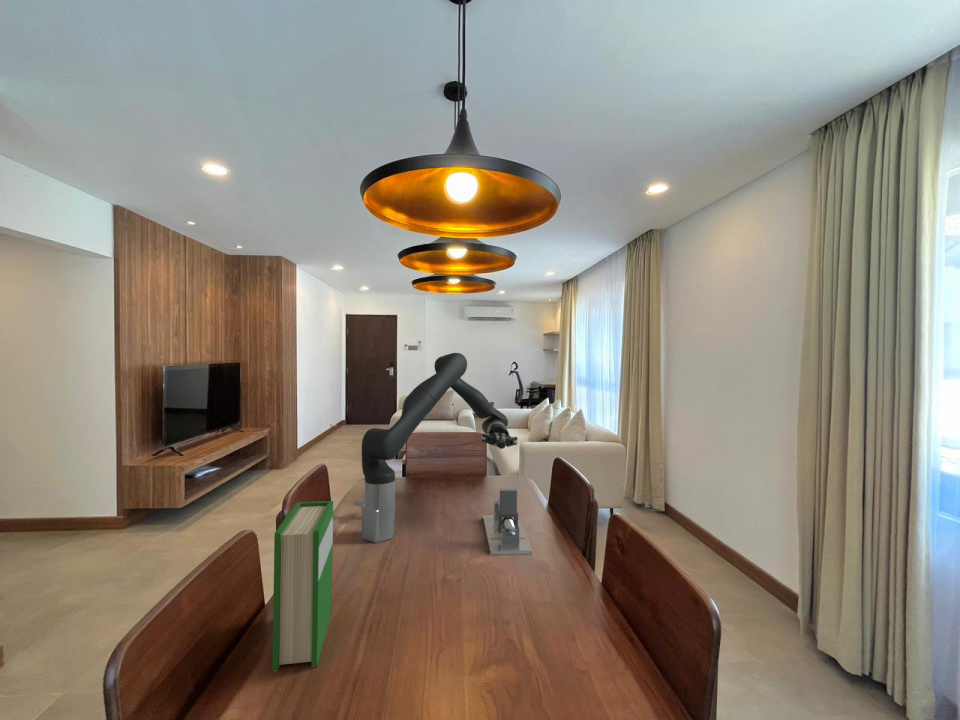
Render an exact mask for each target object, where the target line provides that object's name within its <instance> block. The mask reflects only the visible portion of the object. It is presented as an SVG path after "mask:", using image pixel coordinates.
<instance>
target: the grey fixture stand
mask: <svg viewBox="0 0 960 720" xmlns="http://www.w3.org/2000/svg"><path fill="white" fill-rule="evenodd" d="M498 512H500V498H499V499H497V501H493V515H492V514H491V515H487V514H486V515H482V518H483V524H484V525H483V526H484V528H485V534H486V539H487V540H486V541H487V544H488V549H489V555H492V556H493V555H496V556H497V555H533V549H532V546H531V543H530V541H529V539H528V537H527V534H526V532H525V529H524V528H523V524H522V523H521V520H520V517H518V525H514V517H502V525H501V533H498Z"/></svg>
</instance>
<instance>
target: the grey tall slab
mask: <svg viewBox="0 0 960 720" xmlns="http://www.w3.org/2000/svg"><path fill="white" fill-rule="evenodd" d="M499 499H500V512H498V533H501V525H502V517H514V525H518V518H519V513H518V511H517V509H518V490H517V488H499Z"/></svg>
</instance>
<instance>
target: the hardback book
mask: <svg viewBox="0 0 960 720" xmlns="http://www.w3.org/2000/svg"><path fill="white" fill-rule="evenodd" d="M333 538H334V500H327V501H326V500H324V501H323V500H320V501H301V502H296V503H295V505H293V508H292V509H291V510H290V511H289V513H288V514H287V515H286V517H285V518H284V520H283V521H282V522H281V523H280V525H279V527H277V529H276V531H275V532H274V539H273V541H274V542H273V543H274V546H273V547H274V551H273V601H272V602H273V603H272V604H273V610H272V613H273V614H272V616H273V617H272V661H271V662H272V664H271V666H272V669H271V670H272V671H275V670H278V669H279V670H280V667H281V666H283V665H290V664H300V663H310V662H311V668H312V667H313V666H317V667H318V665H319V662H318V660H319V661H320V658H319V657H321V654H322V649H323V647H322V646H324V643H325V639H326V636H325V635H327V632H326V631H328V628H327V627H329V625H328V623H329V624H330V621H329V620H331V617H330V616H332V613H331V612H333V609H332V605H333V604H332V603H333V552H334V551H333V549H334V548H333V547H334V546H333V545H334V544H333V543H334V539H333ZM323 642H324V643H323ZM320 653H321V654H320ZM317 664H318V665H317ZM279 666H280V667H279ZM279 670H278V671H279ZM275 672H276V671H275Z"/></svg>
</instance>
